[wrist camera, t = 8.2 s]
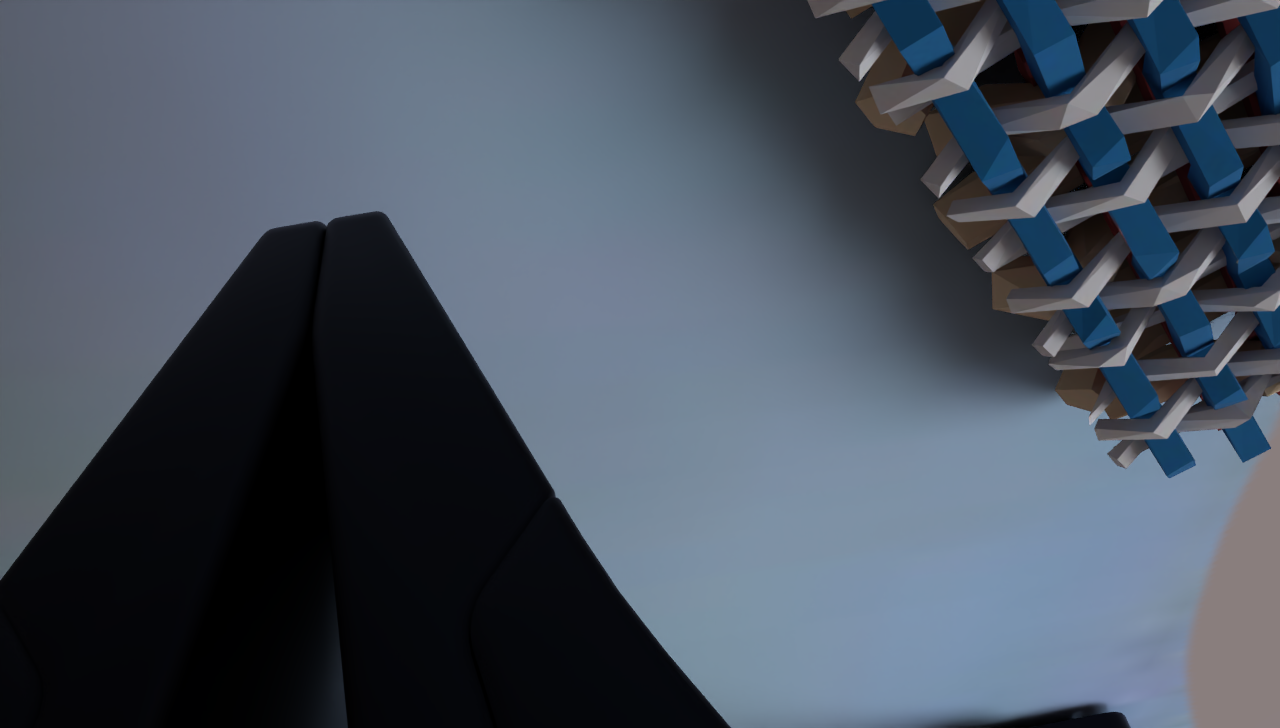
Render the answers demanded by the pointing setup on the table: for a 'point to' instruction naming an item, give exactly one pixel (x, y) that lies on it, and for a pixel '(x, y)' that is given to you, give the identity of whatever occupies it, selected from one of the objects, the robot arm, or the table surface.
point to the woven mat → (1107, 191)
